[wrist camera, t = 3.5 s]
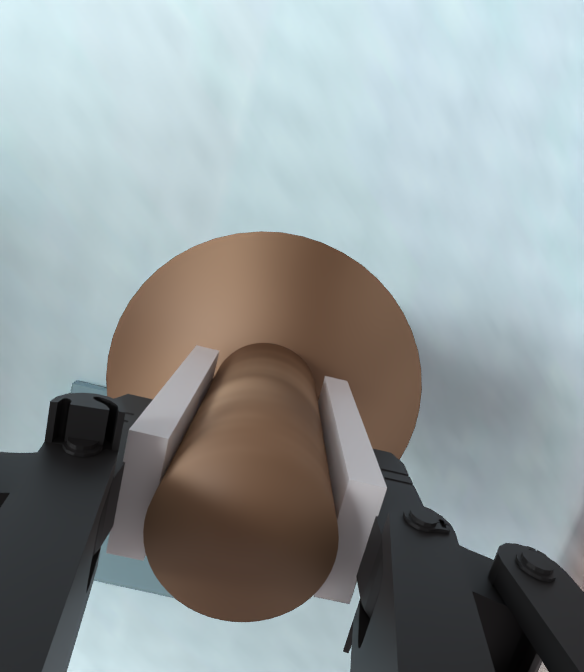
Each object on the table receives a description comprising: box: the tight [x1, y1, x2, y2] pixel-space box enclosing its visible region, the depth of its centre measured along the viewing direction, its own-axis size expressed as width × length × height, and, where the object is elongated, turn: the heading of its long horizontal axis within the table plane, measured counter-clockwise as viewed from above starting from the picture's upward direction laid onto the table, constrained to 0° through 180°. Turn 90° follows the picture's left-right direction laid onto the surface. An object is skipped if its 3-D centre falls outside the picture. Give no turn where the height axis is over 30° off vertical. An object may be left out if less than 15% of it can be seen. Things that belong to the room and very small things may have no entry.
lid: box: [106, 232, 422, 622], centre depth 13 cm, size 11×11×9 cm
